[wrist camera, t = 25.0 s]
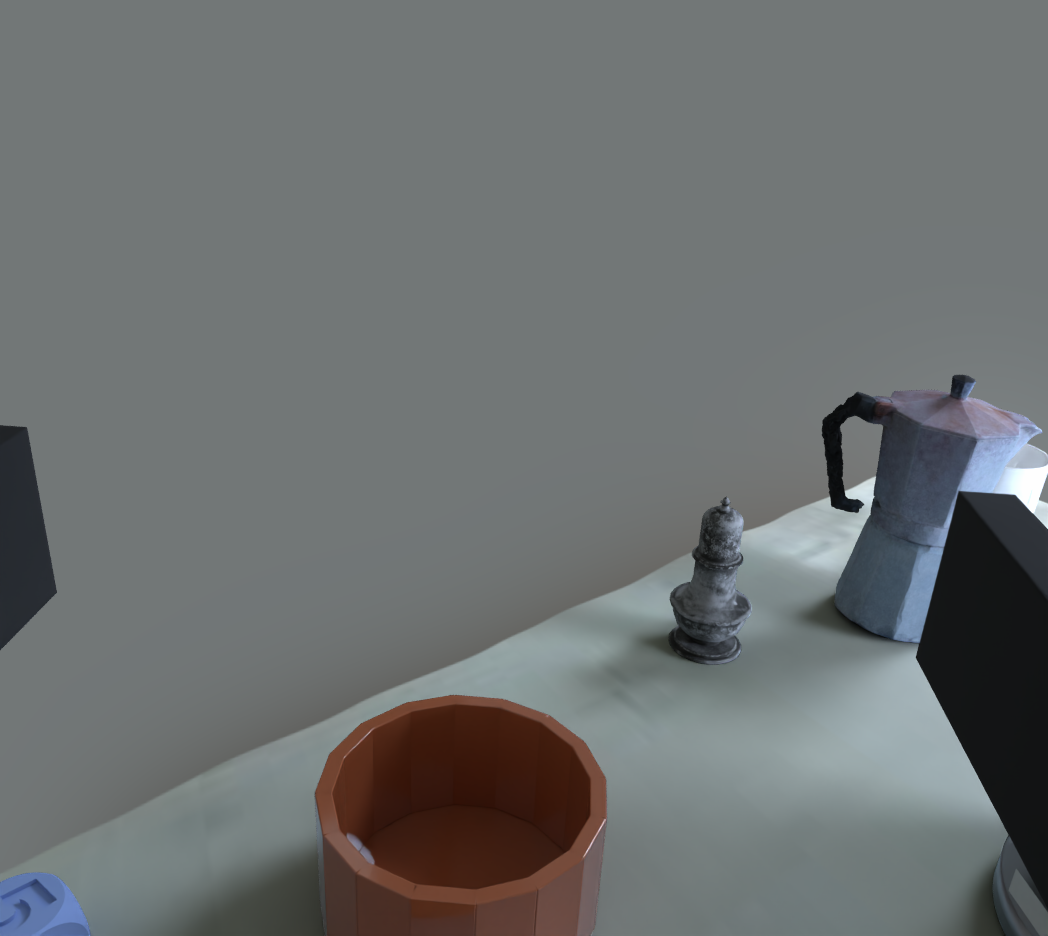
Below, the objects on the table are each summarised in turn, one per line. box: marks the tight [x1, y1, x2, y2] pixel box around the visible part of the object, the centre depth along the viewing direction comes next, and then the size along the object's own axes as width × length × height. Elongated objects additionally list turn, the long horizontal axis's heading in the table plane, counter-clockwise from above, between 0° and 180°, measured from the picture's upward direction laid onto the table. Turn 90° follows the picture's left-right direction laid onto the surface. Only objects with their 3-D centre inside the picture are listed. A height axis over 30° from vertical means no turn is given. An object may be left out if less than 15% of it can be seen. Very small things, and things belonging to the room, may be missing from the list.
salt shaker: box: [669, 497, 752, 664], centre depth 68 cm, size 6×6×12 cm
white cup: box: [993, 443, 1048, 513], centre depth 84 cm, size 8×8×10 cm
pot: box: [315, 695, 607, 936], centre depth 47 cm, size 14×14×8 cm
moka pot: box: [822, 375, 1042, 643], centre depth 71 cm, size 10×15×20 cm, turn 91°
